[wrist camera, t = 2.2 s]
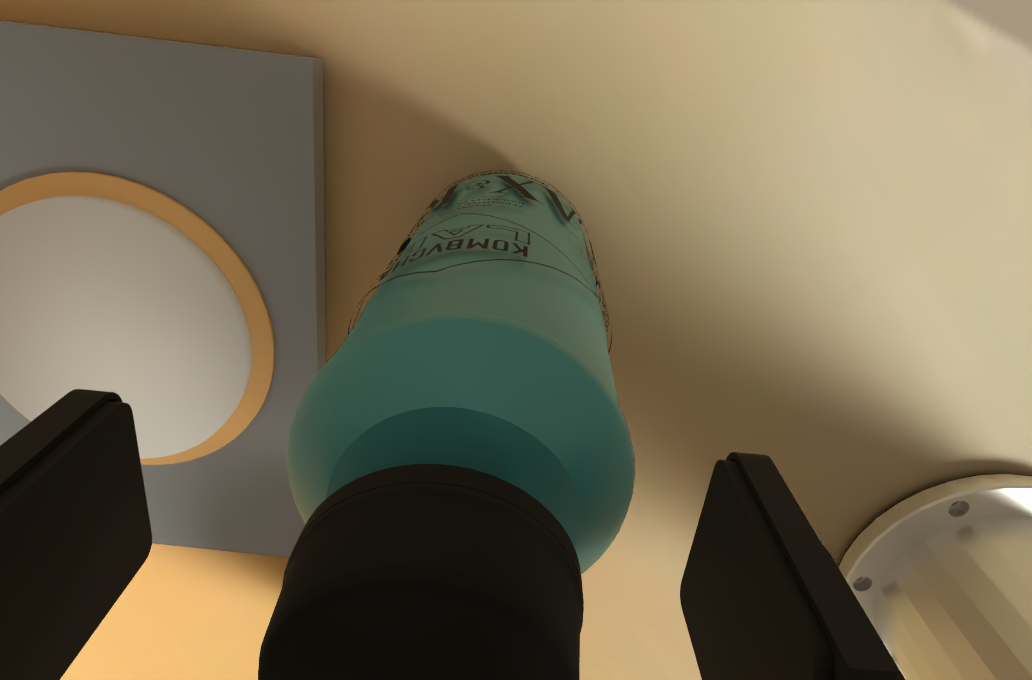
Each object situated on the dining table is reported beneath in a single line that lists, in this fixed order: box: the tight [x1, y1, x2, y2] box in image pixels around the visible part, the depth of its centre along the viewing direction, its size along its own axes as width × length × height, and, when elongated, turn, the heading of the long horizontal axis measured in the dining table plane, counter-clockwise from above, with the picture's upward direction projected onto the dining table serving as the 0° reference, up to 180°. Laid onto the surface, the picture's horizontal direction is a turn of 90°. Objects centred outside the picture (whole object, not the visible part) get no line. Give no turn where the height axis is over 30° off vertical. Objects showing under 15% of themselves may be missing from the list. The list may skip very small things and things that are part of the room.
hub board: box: [0, 20, 326, 557], centre depth 26 cm, size 16×22×2 cm
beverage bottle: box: [258, 170, 635, 680], centre depth 17 cm, size 6×7×20 cm
